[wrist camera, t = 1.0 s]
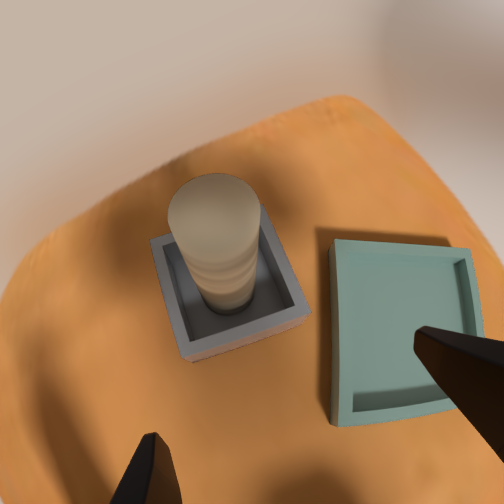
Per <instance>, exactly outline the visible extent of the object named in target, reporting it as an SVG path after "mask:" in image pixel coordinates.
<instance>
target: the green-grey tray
mask: <svg viewBox="0 0 504 504" xmlns="http://www.w3.org/2000/svg"><path fill="white" fill-rule="evenodd" d="M328 259H329V278H330V305H331V402H330V424H331V425H334V426H336V427H347V426H358V425H367V424H376V423H383V422H390V421H397V420H403V419H409V418H414V417H420V416H425V415H429V414H434V413H439V412H443V411H447V410H451V409H455V408H457V406H456V405H455V404H454V403H453V402H452V401H451V399H450V398H449V397H448V396H447V395H446V394H445V393H444V392H443V390H442V389H441V388H440V387H439V386H438V385H437V383H436V382H435V381H434V380H433V378H432V377H431V375H430V374H429V373H428V371H427V370H426V368H425V367H424V366H423V364H422V363H421V361H420V360H419V359H418V357H417V356H416V354H415V353H414V350H413V344H414V333H415V331H416V330H417V329H419V328H420V327H422V326H431V327H435V328H440V329H444V330H449V331H454V332H459V333H464V334H468V335H473V336H478V337H483V338H485V335H484V326H483V317H482V310H481V303H480V296H479V290H478V284H477V279H476V274H475V269H474V264H473V259H472V255H471V251H470V249H468V248H455V247H443V246H430V245H416V244H402V243H388V242H373V241H357V240H341V239H334V241H333V243H332V245H331V247H330V248H329V250H328Z"/></svg>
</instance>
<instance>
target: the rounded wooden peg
mask: <svg viewBox="0 0 504 504" xmlns="http://www.w3.org/2000/svg"><path fill="white" fill-rule="evenodd" d="M260 213H261V209H260V202H259V199H258V196H257V195H256V193H255V191H254V190H253V189H252V187H251V186H250V185H249V184H247V183H246V182H245V181H243V180H241V179H240V178H237V177H235V176H232V175H228V174H220V173H213V174H206V175H202V176H199V177H196V178H194V179H192V180H190V181H188V182H187V183H185V184H184V185H183V186H182V187H180V188H179V189H178V191H177V192H176V193H175V194H174V196H173V198H172V199H171V202H170V204H169V207H168V224H169V227H170V230H171V232H172V234H173V236H174V239H175V241H176V243H177V245H178V247H179V250H180V252H181V254H182V256H183V258H184V261H185V263H186V265H187V267H188V269H189V271H190V274H191V276H192V278H193V280H194V282H195V284H196V286H197V288H198V290H199V292H200V295H201V297H202V299H203V301H204V303H205V304H206V306H207V307H208V308H209V309H210V310H212V311H213V312H215V313H217V314H220V315H225V316H231V315H236V314H238V313H241V312H242V311H244V310H245V309H246V308H247V307H248V306H249V305H250V304H251V302H252V300H253V297H254V292H255V279H256V266H257V253H258V240H259V226H260Z"/></svg>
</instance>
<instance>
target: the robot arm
mask: <svg viewBox="0 0 504 504" xmlns="http://www.w3.org/2000/svg"><path fill="white" fill-rule="evenodd" d="M413 350H414V353H415V354H416V356H417V357H418V359H419V360H420V361H421V363H422V364H423V366H424V367H425V368H426V370H427V371H428V373H429V374H430V375H431V377H432V378H433V380H434V381H435V382H436V383H437V385H438V386H439V387H440V388H441V389H442V390H443V392H444V393H445V394H446V395H447V396H448V397H449V398H450V399H451V401H452V402H453V403H454V404H455V405H456V406H457V408H458V409H459V410H460V411H461V412H462V413H463V414H464V416H465V417H466V418H467V419H468V420H469V421H470V423H471V424H472V425H473V426H474V427H475V429H476V430H477V431H478V432H479V433H480V435H481V436H482V437H483V438H484V439H485V441H486V442H487V443H488V444H489V445H490V447H491V448H492V449H493V450H494V452H495V453H496V454H497V455H498V457H499V458H500V459H501V460H502V462H503V463H504V341H498V340H493V339H488V338H483V337H478V336H473V335H468V334H464V333H459V332H454V331H449V330H444V329H440V328H435V327H431V326H422V327H420V328H419V329H417V330H416V331H415V333H414V344H413ZM109 504H182V498H181V492H180V488H179V484H178V480H177V477H176V473H175V469H174V465H173V461H172V457H171V453H170V450H169V447H168V446H167V444H166V443H165V442H164V441H163V439H162V438H161V437H160V436H159V434H158V433H156V432H153V433H148V434H145V435H144V436H143V437H142V439H141V441H140V443H139V445H138V447H137V449H136V451H135V453H134V455H133V457H132V459H131V461H130V463H129V465H128V467H127V469H126V471H125V473H124V475H123V477H122V479H121V481H120V483H119V485H118V487H117V489H116V491H115V493H114V495H113V497H112V499H111V501H110V503H109Z"/></svg>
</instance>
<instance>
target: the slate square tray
mask: <svg viewBox="0 0 504 504" xmlns="http://www.w3.org/2000/svg"><path fill="white" fill-rule="evenodd" d="M260 209H261V213H260V226H259V240H258V253H257V266H256V279H255V292H254V297H253V300H252V302H251V304H250V305H249V306H248V307H247V308H246V309H245V310H244V311H242V312H241V313H238V314H236V315H231V316H225V315H220V314H217V313H215V312H213V311H212V310H210V309H209V308H208V307H207V306H206V304H205V303H204V301H203V299H202V297H201V295H200V292H199V290H198V288H197V286H196V284H195V282H194V280H193V278H192V276H191V274H190V271H189V269H188V267H187V265H186V263H185V261H184V258H183V256H182V254H181V252H180V250H179V247H178V245H177V243H176V241H175V239H174V236H173V234H172V232H171V233H168V234H165V235H162V236H159V237H156V238H153V239H150V245H151V249H152V254H153V258H154V262H155V266H156V270H157V274H158V278H159V282H160V286H161V290H162V293H163V297H164V301H165V304H166V308H167V312H168V315H169V319H170V322H171V325H172V329H173V332H174V335H175V339H176V342H177V345H178V348H179V351H180V355H181V358H183V359H185V360H187V361H189V362H192V363H194V362H197V361H200V360H204V359H207V358H210V357H213V356H216V355H219V354H222V353H225V352H228V351H231V350H234V349H237V348H240V347H243V346H245V345H248V344H251V343H254V342H257V341H259V340H262V339H265V338H268V337H270V336H273V335H276V334H278V333H281V332H284V331H286V330H289V329H291V328H294V327H297V326H299V325H301V324H302V323H303V322H304V321H305V319H306V318H307V317H308V316H309V315H310V314H311V310H310V308H309V305H308V303H307V301H306V299H305V296H304V294H303V292H302V289H301V287H300V285H299V283H298V280H297V278H296V276H295V274H294V271H293V269H292V267H291V265H290V262H289V260H288V258H287V256H286V253H285V251H284V249H283V247H282V245H281V242H280V240H279V238H278V236H277V234H276V231H275V229H274V227H273V225H272V223H271V221H270V218H269V216H268V214H267V212H266V210H265V208H264V205H263V204H260Z"/></svg>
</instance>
